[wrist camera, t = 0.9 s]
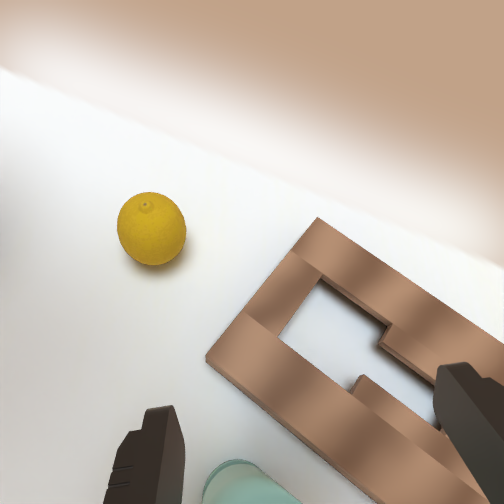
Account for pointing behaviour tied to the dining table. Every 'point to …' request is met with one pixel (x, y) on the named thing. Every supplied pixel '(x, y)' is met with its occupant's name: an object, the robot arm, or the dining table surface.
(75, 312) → the dining table surface
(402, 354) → the keyhole plate
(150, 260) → the lemon
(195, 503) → the dining table surface
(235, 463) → the headed peg
